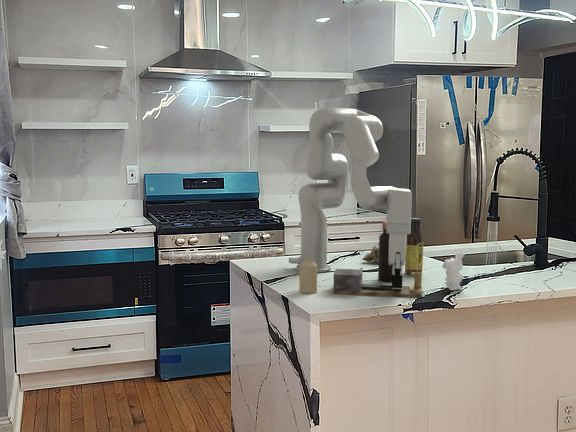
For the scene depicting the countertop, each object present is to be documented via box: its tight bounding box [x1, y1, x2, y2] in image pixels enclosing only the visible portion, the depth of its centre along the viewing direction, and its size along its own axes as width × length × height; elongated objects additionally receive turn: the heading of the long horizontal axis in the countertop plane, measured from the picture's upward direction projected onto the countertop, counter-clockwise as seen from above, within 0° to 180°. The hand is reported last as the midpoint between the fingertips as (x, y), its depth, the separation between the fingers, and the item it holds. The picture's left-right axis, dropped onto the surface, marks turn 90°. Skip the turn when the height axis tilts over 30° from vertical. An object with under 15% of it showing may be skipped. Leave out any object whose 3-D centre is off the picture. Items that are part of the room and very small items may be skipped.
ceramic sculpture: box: [362, 242, 379, 264], centre depth 261 cm, size 11×9×15 cm
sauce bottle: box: [404, 217, 424, 275], centre depth 240 cm, size 6×6×20 cm
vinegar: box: [377, 220, 393, 283], centre depth 228 cm, size 7×7×20 cm
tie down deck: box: [332, 267, 424, 299], centre depth 212 cm, size 28×11×7 cm, turn 82°
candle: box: [298, 260, 318, 295], centre depth 211 cm, size 6×6×10 cm
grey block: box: [361, 264, 402, 290], centre depth 212 cm, size 14×4×7 cm, turn 82°
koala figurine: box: [441, 251, 466, 291], centre depth 216 cm, size 8×7×12 cm
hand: (396, 285), depth 211 cm, fingers closed on grey block, 4 cm apart
